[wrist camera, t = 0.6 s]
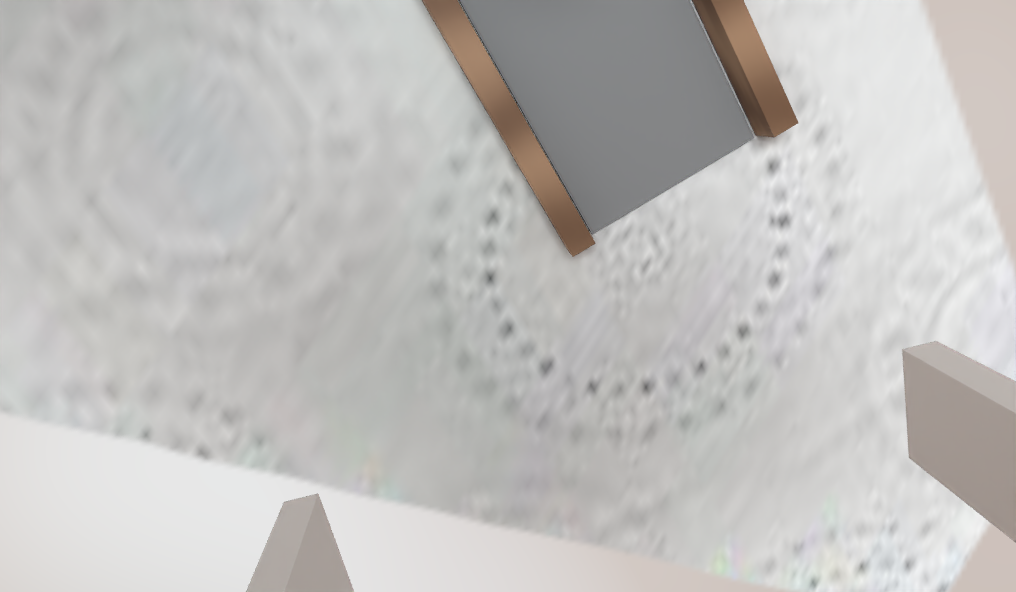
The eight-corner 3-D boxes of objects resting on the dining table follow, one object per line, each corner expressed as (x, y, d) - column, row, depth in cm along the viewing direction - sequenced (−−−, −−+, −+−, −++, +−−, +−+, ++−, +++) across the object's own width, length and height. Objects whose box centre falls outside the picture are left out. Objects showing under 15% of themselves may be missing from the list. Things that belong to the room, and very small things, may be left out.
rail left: (403, -32, 36) (399, -42, 34) (426, -47, 36) (424, -58, 34) (566, 248, 41) (572, 256, 39) (587, 235, 41) (595, 243, 39)
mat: (450, -15, 37) (450, -16, 36) (626, -128, 36) (627, -130, 36) (591, 233, 41) (592, 234, 41) (751, 137, 40) (754, 137, 40)
